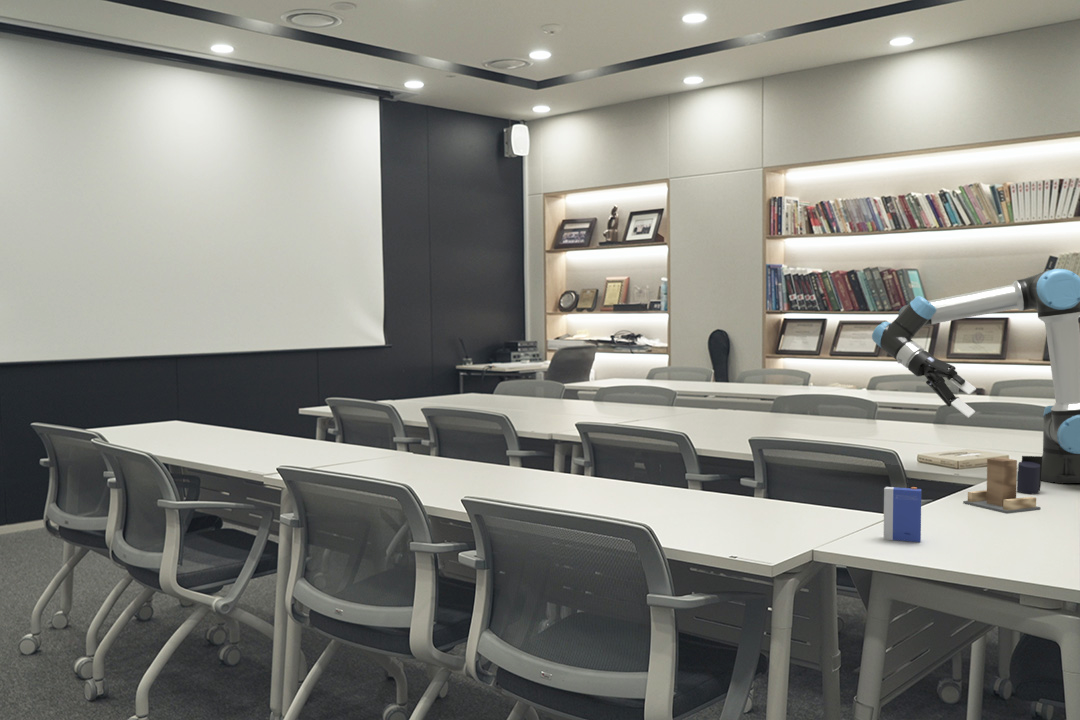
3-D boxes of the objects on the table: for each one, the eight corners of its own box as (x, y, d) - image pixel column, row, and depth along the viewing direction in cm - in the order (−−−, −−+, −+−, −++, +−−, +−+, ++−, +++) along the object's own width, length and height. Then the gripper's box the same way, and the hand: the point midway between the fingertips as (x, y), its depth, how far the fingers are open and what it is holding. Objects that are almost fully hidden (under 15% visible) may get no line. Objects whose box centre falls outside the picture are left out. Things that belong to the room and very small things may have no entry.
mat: (995, 499, 255) (996, 497, 254) (1040, 509, 242) (1040, 507, 242) (963, 503, 250) (963, 501, 250) (1006, 513, 237) (1006, 511, 237)
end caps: (994, 498, 254) (994, 489, 254) (1036, 507, 242) (1036, 497, 242) (967, 501, 250) (967, 491, 250) (1008, 510, 238) (1008, 500, 238)
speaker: (1018, 487, 271) (1020, 453, 269) (1040, 490, 268) (1042, 456, 266) (1014, 494, 264) (1017, 459, 263) (1037, 497, 261) (1040, 462, 260)
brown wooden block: (1000, 501, 249) (1001, 457, 248) (1016, 505, 244) (1016, 460, 244) (986, 503, 247) (987, 458, 247) (1002, 506, 243) (1003, 461, 242)
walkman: (920, 539, 210) (921, 487, 209) (920, 542, 207) (920, 489, 207) (884, 536, 213) (884, 485, 212) (883, 539, 210) (883, 487, 210)
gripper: (908, 387, 288) (962, 431, 274) (904, 345, 268) (962, 389, 255) (926, 373, 288) (981, 416, 275) (924, 329, 269) (983, 373, 255)
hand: (972, 403), depth 265 cm, fingers open, 13 cm apart
